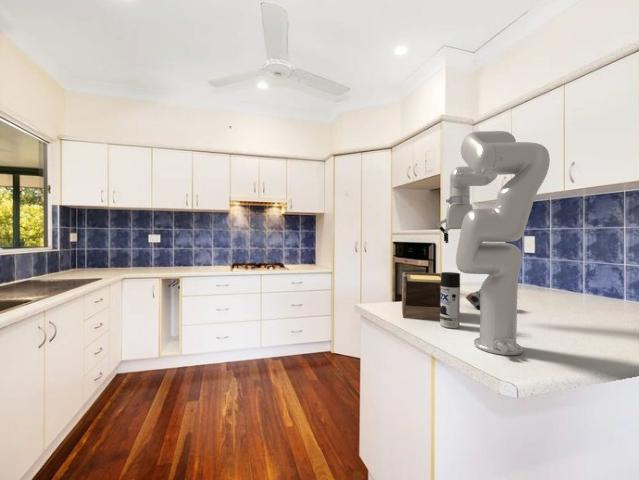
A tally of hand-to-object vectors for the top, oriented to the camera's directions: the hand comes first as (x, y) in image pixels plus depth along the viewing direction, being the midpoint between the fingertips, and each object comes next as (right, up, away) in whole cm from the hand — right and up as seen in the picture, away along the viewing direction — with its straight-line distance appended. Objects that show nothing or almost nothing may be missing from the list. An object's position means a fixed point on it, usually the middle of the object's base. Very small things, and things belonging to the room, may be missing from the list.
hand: (459, 243), depth 124 cm
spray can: (-9, -31, -12) cm, 34 cm away
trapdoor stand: (-13, -31, +6) cm, 34 cm away
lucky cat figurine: (+21, -31, +18) cm, 42 cm away
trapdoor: (-13, -15, +6) cm, 21 cm away
